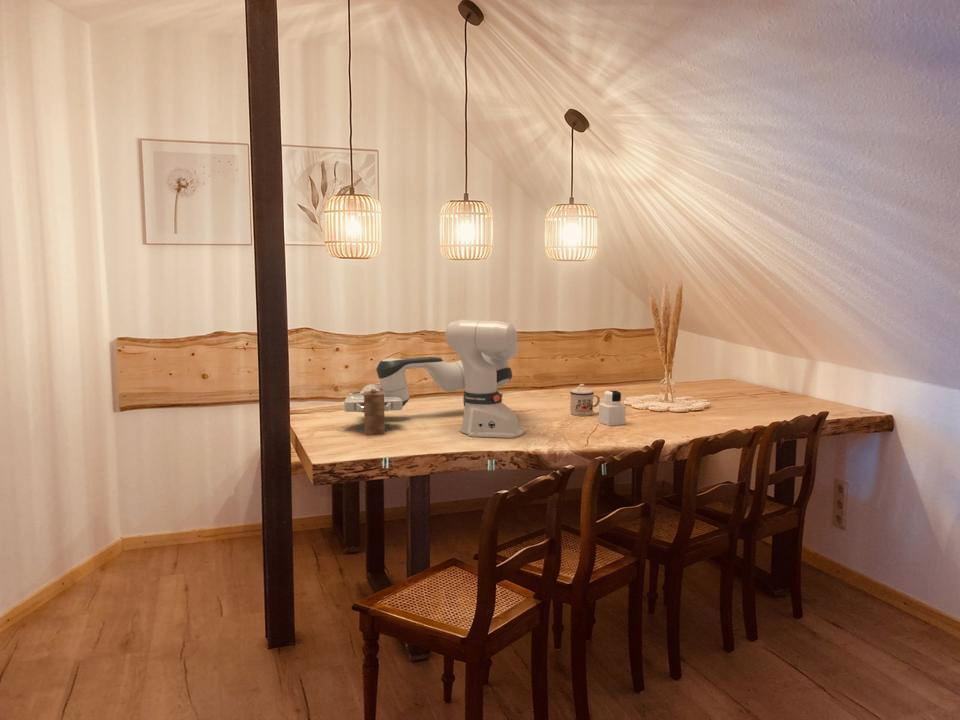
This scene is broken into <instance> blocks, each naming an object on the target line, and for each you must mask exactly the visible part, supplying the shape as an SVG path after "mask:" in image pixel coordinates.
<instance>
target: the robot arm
mask: <svg viewBox="0 0 960 720" xmlns="http://www.w3.org/2000/svg"><path fill="white" fill-rule="evenodd" d="M444 339H445V342H446V344H447V345H448V347H449V348H451V349H452V351H454V352H455V354H456V355H457V357H459V360H454V361H451V362H447V361H444V360H443V359H442V357H436V356H427V357H426V356H422V357H421V356H419V357H407V358H406V357H405V358H396V357H389V358H388V357H387V358H384V359H381V360H380V361H379V363H378V364H377V367H376V368H375V370H376V373H377V377H378V379H379V384H380V385H377V384H374V383H370V384H366V385H364V387H363V388H362V389H361V391H357V392H356V391H355V392H352V393H351V392H350V393H348V395H347V397H346V398H345V399H344V403H343V406H344V407H343V408H344V412H346V413H351V412H354V413H364V391H371V389H376V391H383V392H384V412H389V411H401V410H403V407H404V406H405V405H406V404H407V403H408V402H409V400H410V398H411V397H410V392H409V387H408V384H407V383H408V382H407V378H406V374H405V373H406V371H407V370H412V369H413V370H415V369H424V370H426V372H428V374H429V375H430V377H431V379H432V380H433V382H434V383H435V385H436V386H437V387H438V388H439V389H441V390H442V391H444V392H457V391H460V390H463V389H464V391H463V396H462V397H463V398H462V399H463V402H462V403H463V407H464V408H463V409H464V410H463V411H464V412H463V417H462V422H461V426H460V432H461V433H463V434H465V435H467V436H469V437H475V438H476V437H478V438H481V437H482V438H507V439H513V438H518V437H520V436H523V434H525V433H526V428H525V427H523V426H519V420H518V416H517V413H516V412H515V411H513V410H512V409H511V408H510V407H508V406H507V405H506V404H505V403H503V402H502V401H503V395H504V393H500V392H499V391H498V390H497V388H500V387H504V386H505V385H507V384H508V383H510V382H511V380H512V378H513V372H512V371H513V370H512V368H511V367H510V364H509V360H512V359H514V358H515V357H516V356H517V354H518V352H519V343H518V332H517V329H516V328H515V326H514V324H512V323H510V322H507V321H502V320H492V319H491V320H487V319H485V320H484V319H456V320H453V321H451V322H449V324H448V325H447V327H446V329H445V333H444Z"/></svg>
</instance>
